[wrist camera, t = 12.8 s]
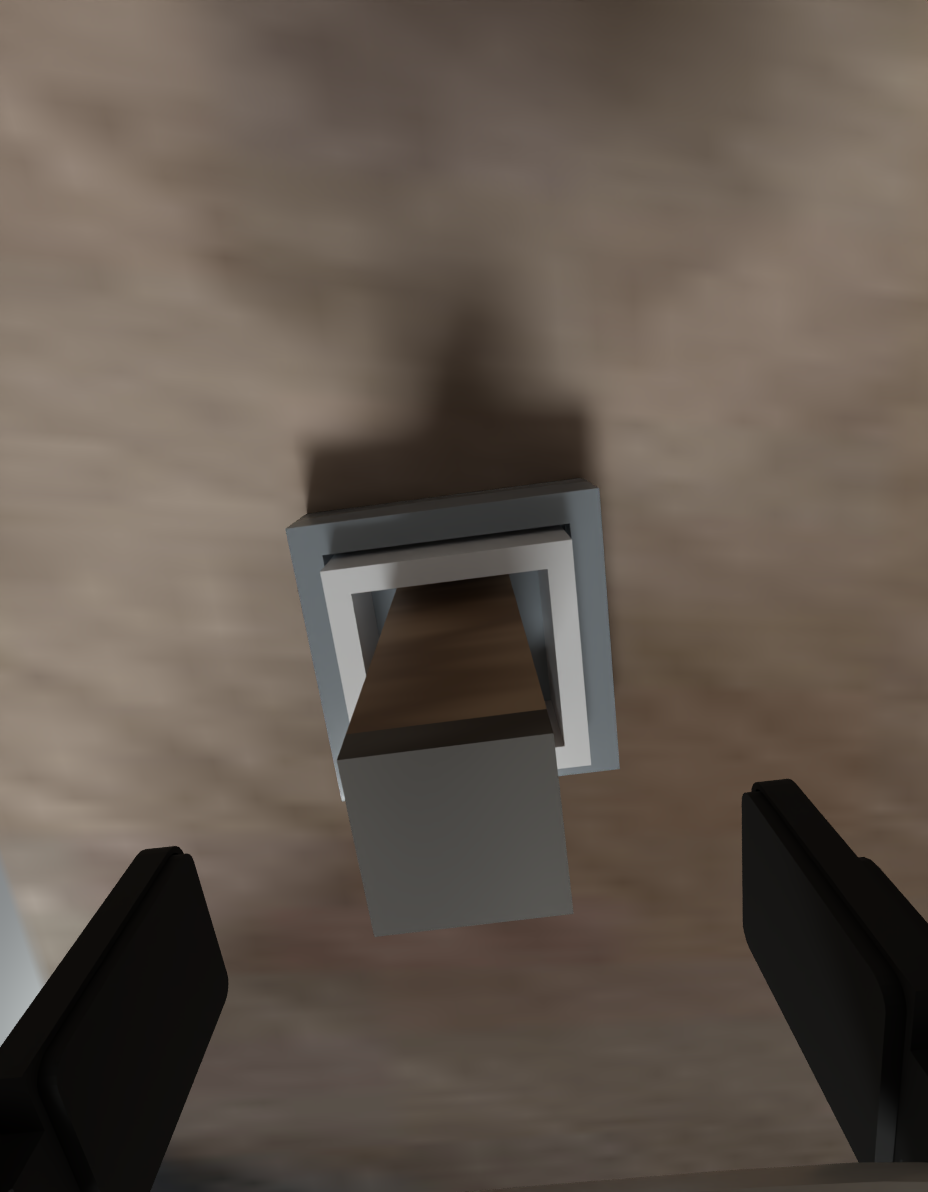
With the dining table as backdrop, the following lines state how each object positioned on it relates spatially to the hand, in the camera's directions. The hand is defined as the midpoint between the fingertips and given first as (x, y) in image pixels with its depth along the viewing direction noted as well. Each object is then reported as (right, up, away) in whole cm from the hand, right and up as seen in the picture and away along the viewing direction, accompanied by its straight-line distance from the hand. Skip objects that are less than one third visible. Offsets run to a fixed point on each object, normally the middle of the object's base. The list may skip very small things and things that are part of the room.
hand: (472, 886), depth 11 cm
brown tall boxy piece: (0, +4, +13) cm, 14 cm away
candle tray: (0, +4, +14) cm, 15 cm away
